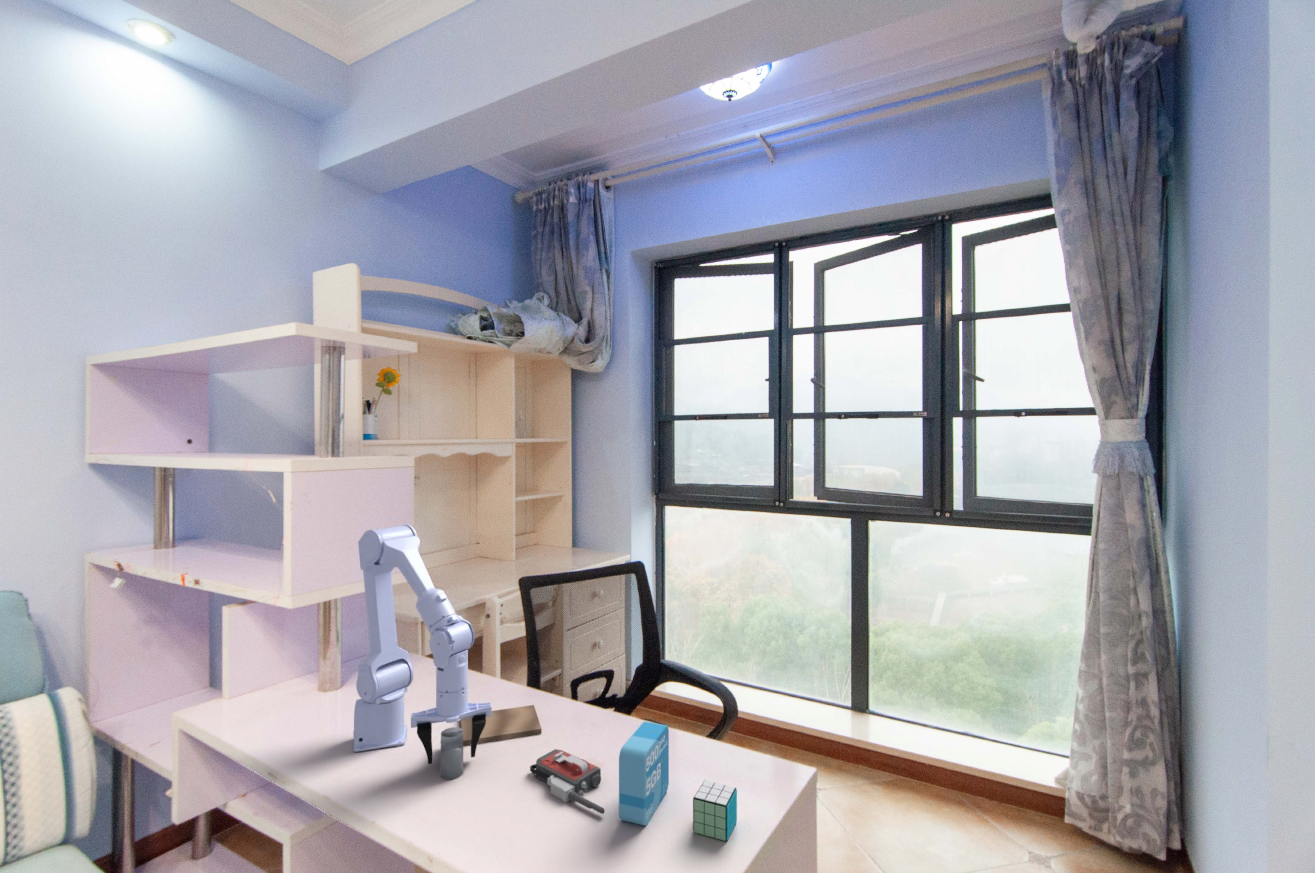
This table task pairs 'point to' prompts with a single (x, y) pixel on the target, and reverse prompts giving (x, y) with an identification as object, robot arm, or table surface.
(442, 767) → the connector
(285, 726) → the table surface
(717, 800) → the puzzle toy
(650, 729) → the data package
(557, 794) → the walkie-talkie
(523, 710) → the walnut board
